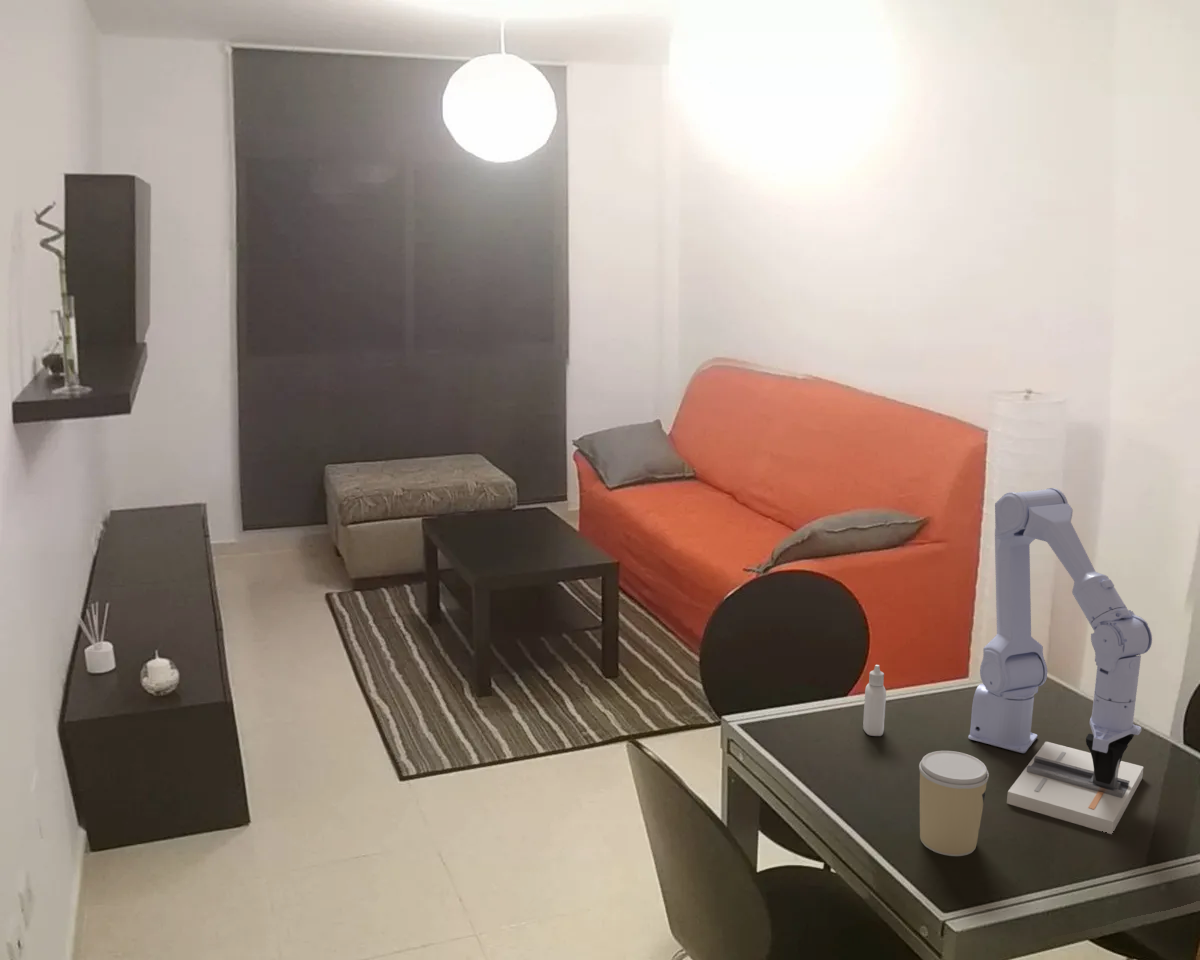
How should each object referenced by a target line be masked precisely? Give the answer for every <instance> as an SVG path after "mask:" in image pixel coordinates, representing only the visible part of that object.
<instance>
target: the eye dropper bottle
mask: <svg viewBox="0 0 1200 960" xmlns="http://www.w3.org/2000/svg"><path fill="white" fill-rule="evenodd" d="M884 677H885V673H884V672H883V671H881V669H880V664H875V665H874V668H873V670H871V671H869V677H868V680H869V681H868V683H867V684H866V686H865V690H864V702H863V703H864V704H863V705H864V706H863V708H864V709H863V724H862V729H863V731H864V732H865V733H866V734H867V735H868V736H870V737H871V736H872V737H881V736H883V734H884V730H885V717H886V701H887V700H886V699H887V691H886V688H885V686H884V681H885V679H884Z"/></svg>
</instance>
